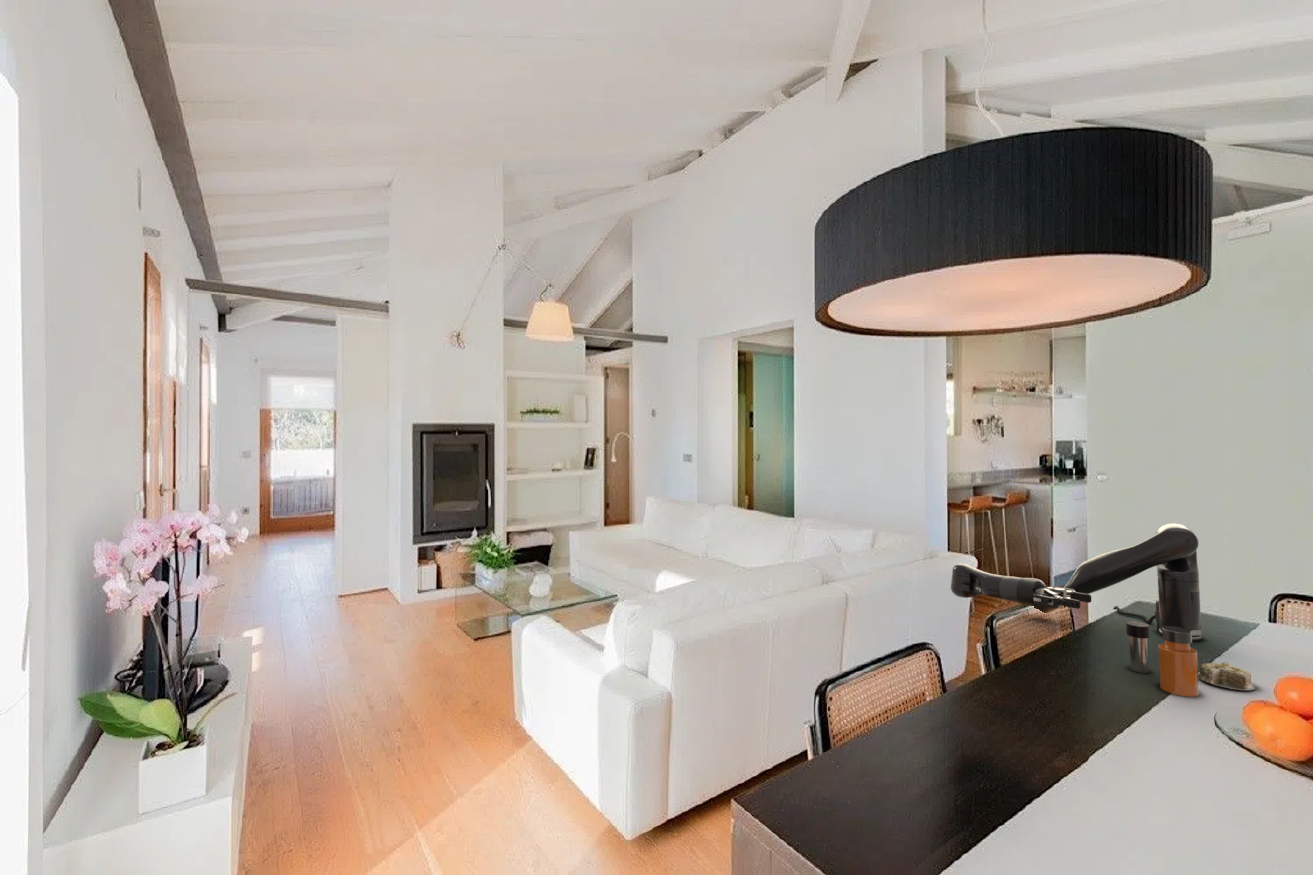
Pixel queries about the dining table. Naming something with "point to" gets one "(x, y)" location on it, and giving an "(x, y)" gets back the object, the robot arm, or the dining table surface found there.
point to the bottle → (1178, 662)
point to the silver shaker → (1138, 645)
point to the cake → (1226, 676)
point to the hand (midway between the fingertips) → (1085, 601)
